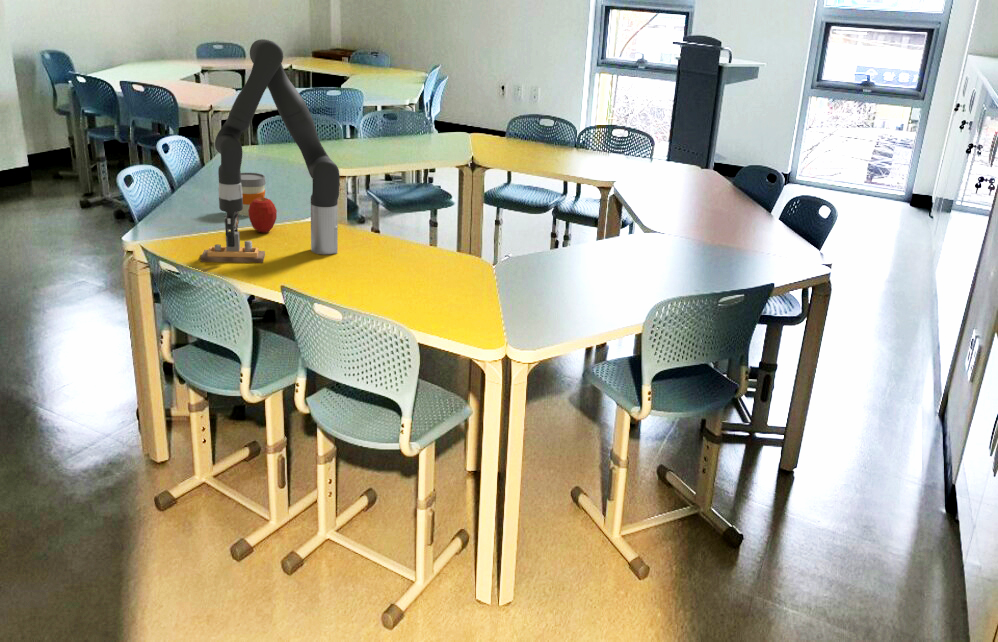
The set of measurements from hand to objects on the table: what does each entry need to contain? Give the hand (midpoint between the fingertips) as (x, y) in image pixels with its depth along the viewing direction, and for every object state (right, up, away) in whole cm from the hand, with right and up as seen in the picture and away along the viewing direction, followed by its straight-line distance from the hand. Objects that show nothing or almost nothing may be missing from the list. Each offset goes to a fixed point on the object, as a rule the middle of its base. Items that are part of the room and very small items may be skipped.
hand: (232, 242), depth 286 cm
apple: (+1, +7, +32) cm, 32 cm away
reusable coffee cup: (-9, +16, +52) cm, 55 cm away
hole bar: (0, -4, +2) cm, 4 cm away
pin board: (0, -5, +2) cm, 6 cm away
